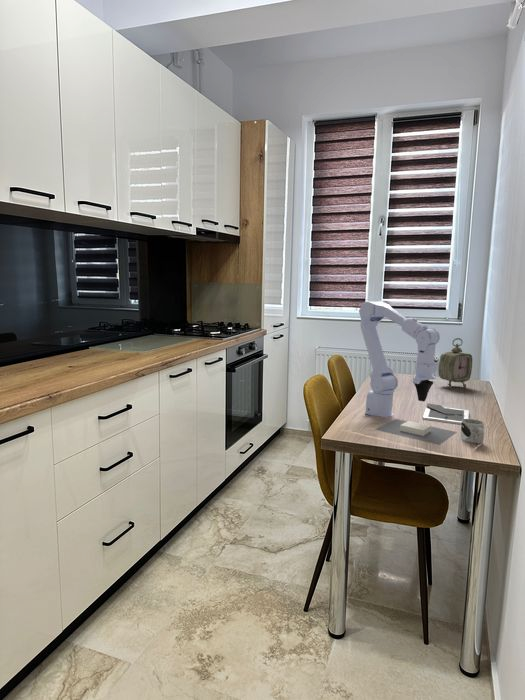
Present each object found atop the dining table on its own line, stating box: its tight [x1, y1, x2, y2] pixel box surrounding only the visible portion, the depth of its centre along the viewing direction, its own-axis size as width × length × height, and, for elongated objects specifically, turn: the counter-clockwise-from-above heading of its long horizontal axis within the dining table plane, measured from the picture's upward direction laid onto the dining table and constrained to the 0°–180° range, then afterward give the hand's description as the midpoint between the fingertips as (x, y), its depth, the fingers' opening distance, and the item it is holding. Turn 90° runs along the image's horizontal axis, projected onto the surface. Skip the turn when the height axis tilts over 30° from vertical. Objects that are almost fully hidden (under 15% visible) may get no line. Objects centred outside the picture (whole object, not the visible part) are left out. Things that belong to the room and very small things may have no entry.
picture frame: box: [422, 403, 470, 425], centre depth 185 cm, size 16×3×21 cm
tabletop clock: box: [438, 337, 473, 389], centre depth 240 cm, size 14×9×25 cm, turn 118°
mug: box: [459, 418, 485, 445], centre depth 155 cm, size 10×7×7 cm
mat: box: [374, 418, 458, 446], centre depth 164 cm, size 22×18×1 cm
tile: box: [400, 420, 432, 436], centre depth 163 cm, size 8×2×7 cm
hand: (421, 400), depth 170 cm, fingers closed
